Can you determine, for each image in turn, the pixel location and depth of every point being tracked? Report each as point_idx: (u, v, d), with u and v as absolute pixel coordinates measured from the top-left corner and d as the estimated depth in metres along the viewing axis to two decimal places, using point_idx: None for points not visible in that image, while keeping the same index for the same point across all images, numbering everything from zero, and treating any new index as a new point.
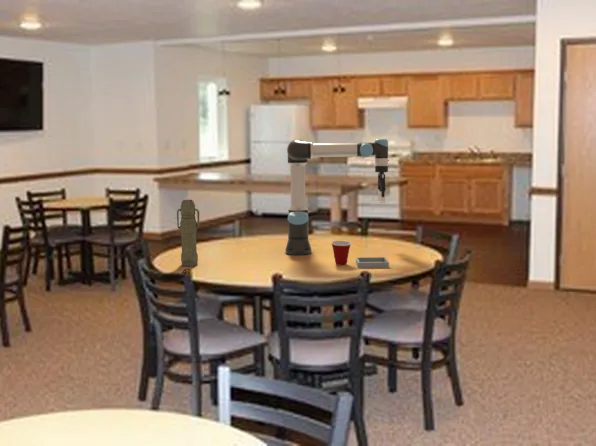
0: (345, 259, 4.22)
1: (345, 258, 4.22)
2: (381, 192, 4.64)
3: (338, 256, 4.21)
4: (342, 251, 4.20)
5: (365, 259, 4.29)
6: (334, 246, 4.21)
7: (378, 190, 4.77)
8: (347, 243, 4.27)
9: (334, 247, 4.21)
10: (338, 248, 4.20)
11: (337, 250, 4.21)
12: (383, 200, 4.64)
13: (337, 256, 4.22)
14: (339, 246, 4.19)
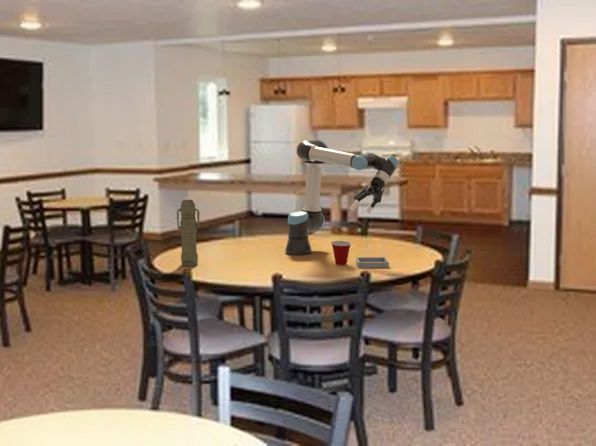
0: (345, 259, 4.22)
1: (345, 258, 4.22)
2: (372, 202, 4.25)
3: (338, 256, 4.21)
4: (342, 251, 4.20)
5: (365, 259, 4.29)
6: (334, 246, 4.21)
7: (356, 200, 4.36)
8: (347, 243, 4.27)
9: (334, 247, 4.21)
10: (338, 248, 4.20)
11: (337, 250, 4.21)
12: (369, 210, 4.24)
13: (337, 256, 4.22)
14: (339, 246, 4.19)
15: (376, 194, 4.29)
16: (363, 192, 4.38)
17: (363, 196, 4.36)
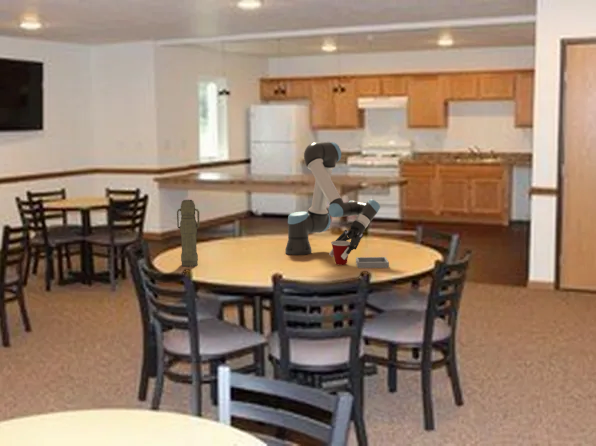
0: (345, 259, 4.22)
1: None
2: (348, 248, 4.20)
3: (338, 256, 4.21)
4: (342, 251, 4.20)
5: (365, 259, 4.29)
6: (334, 246, 4.21)
7: None
8: (347, 243, 4.27)
9: (334, 247, 4.21)
10: (338, 248, 4.20)
11: (337, 250, 4.21)
12: (344, 256, 4.19)
13: (337, 256, 4.22)
14: (339, 246, 4.19)
15: (354, 239, 4.23)
16: (343, 236, 4.31)
17: (343, 240, 4.29)
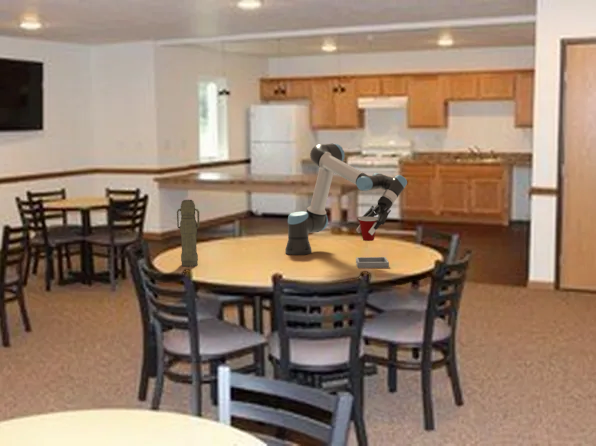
0: (372, 235, 4.17)
1: None
2: (376, 223, 4.15)
3: (365, 232, 4.16)
4: (370, 227, 4.15)
5: (365, 259, 4.29)
6: (361, 221, 4.16)
7: None
8: (374, 219, 4.22)
9: (361, 223, 4.16)
10: (365, 224, 4.15)
11: (364, 225, 4.16)
12: (372, 232, 4.14)
13: (364, 232, 4.17)
14: (366, 221, 4.14)
15: (381, 215, 4.18)
16: (370, 212, 4.27)
17: (370, 216, 4.24)
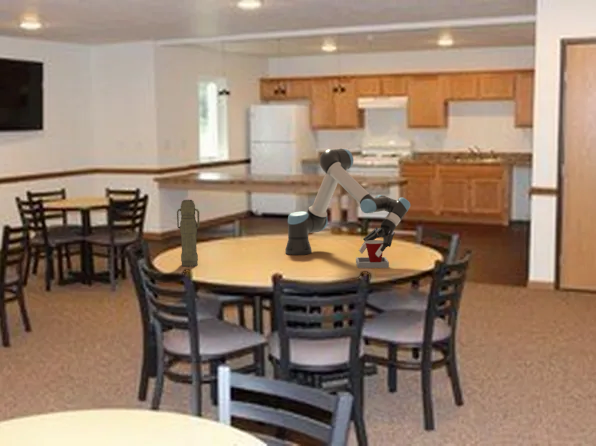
0: (379, 257, 4.18)
1: (379, 256, 4.18)
2: (382, 245, 4.16)
3: (372, 254, 4.17)
4: (377, 249, 4.16)
5: (365, 259, 4.29)
6: (368, 245, 4.17)
7: None
8: (380, 242, 4.23)
9: (368, 246, 4.17)
10: (372, 246, 4.16)
11: (371, 248, 4.16)
12: (379, 254, 4.15)
13: (371, 255, 4.17)
14: (373, 244, 4.15)
15: (386, 237, 4.20)
16: None
17: (373, 238, 4.27)
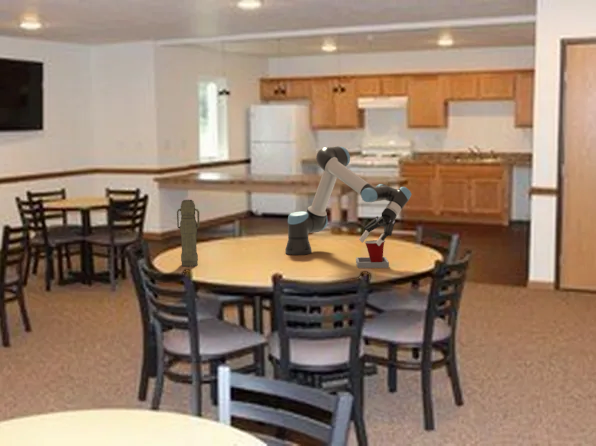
0: (380, 257, 4.17)
1: (380, 256, 4.17)
2: (383, 234, 4.14)
3: (373, 254, 4.17)
4: (377, 249, 4.16)
5: (365, 259, 4.29)
6: (368, 244, 4.17)
7: (366, 231, 4.25)
8: None
9: (368, 246, 4.17)
10: (372, 246, 4.16)
11: (371, 248, 4.16)
12: (379, 243, 4.14)
13: (372, 254, 4.17)
14: (373, 244, 4.15)
15: (387, 226, 4.19)
16: (373, 223, 4.28)
17: (373, 227, 4.26)
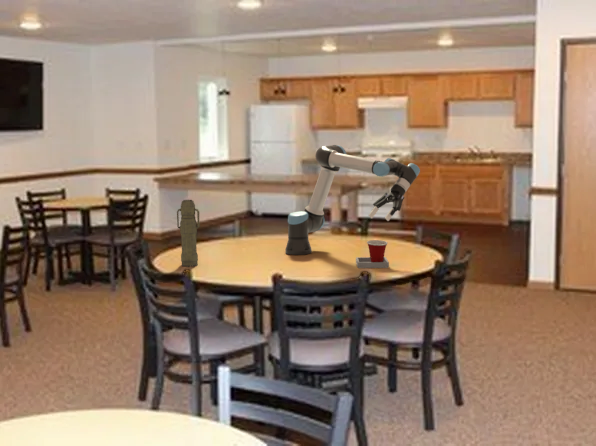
0: (381, 259, 4.17)
1: (381, 258, 4.17)
2: (392, 209, 4.20)
3: (374, 256, 4.16)
4: (378, 251, 4.15)
5: (365, 259, 4.29)
6: (370, 246, 4.16)
7: (375, 207, 4.31)
8: (383, 243, 4.21)
9: (370, 247, 4.16)
10: (374, 248, 4.15)
11: (373, 249, 4.15)
12: (388, 218, 4.19)
13: (373, 256, 4.16)
14: (375, 246, 4.14)
15: (396, 202, 4.24)
16: None
17: (382, 203, 4.31)
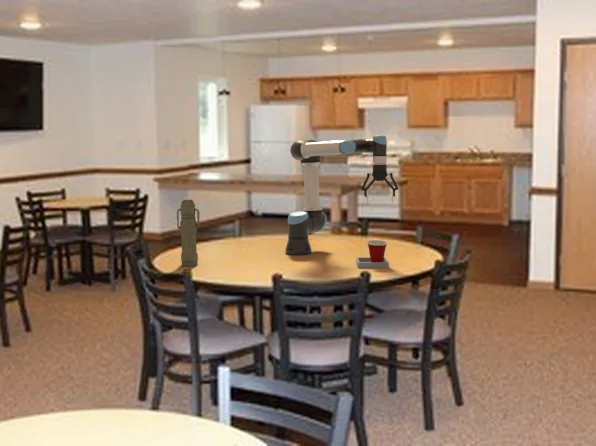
0: (381, 259, 4.17)
1: (381, 258, 4.17)
2: (392, 191, 4.37)
3: (374, 256, 4.16)
4: (378, 251, 4.15)
5: (365, 259, 4.29)
6: (370, 246, 4.16)
7: None
8: (383, 243, 4.21)
9: (370, 247, 4.16)
10: (374, 248, 4.15)
11: (373, 249, 4.15)
12: (392, 200, 4.39)
13: (373, 256, 4.16)
14: (375, 246, 4.14)
15: (388, 181, 4.37)
16: (367, 180, 4.37)
17: (371, 184, 4.38)
